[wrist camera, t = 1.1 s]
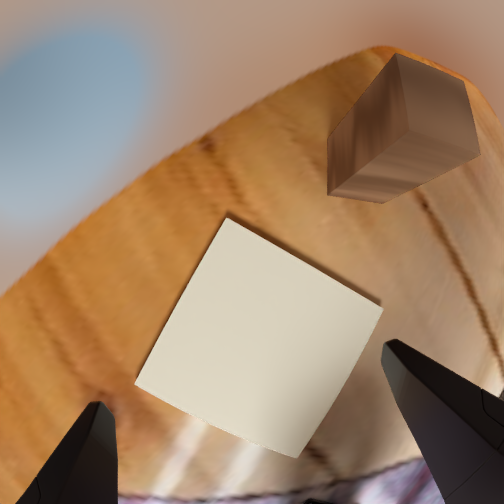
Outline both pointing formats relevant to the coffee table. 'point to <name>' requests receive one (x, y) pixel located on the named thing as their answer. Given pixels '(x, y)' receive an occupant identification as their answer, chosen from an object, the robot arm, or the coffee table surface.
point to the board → (259, 342)
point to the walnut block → (401, 133)
